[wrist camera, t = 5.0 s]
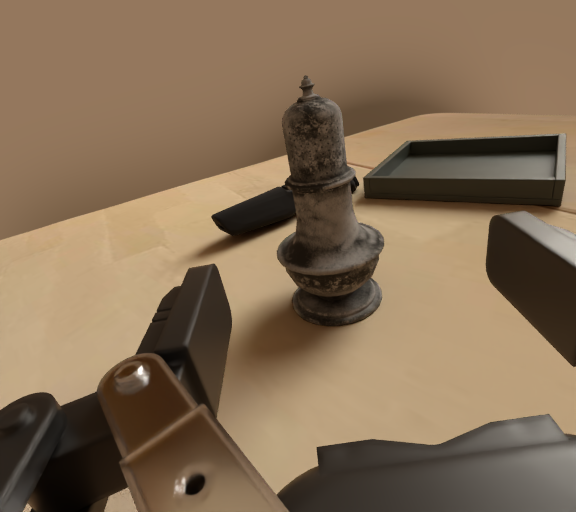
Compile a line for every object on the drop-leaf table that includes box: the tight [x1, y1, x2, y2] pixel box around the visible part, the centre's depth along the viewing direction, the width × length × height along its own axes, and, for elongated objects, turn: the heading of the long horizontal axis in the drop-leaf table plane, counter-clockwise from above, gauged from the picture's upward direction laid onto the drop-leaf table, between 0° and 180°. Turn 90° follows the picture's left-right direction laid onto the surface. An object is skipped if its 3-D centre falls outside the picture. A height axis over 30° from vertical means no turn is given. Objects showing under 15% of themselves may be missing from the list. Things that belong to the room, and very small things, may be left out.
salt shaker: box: [277, 76, 384, 326], centre depth 19 cm, size 6×6×12 cm
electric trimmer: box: [211, 177, 359, 236], centre depth 34 cm, size 4×16×3 cm, turn 126°
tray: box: [363, 134, 566, 206], centre depth 35 cm, size 15×13×2 cm
